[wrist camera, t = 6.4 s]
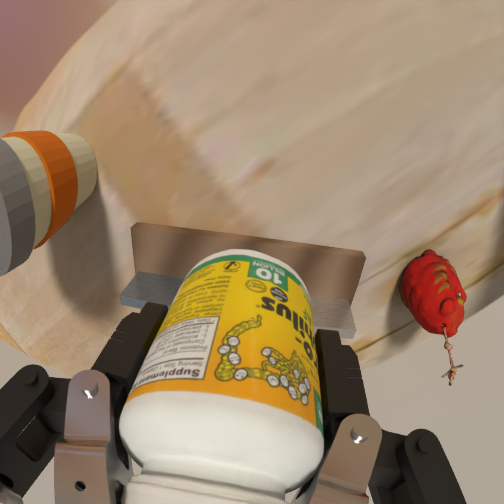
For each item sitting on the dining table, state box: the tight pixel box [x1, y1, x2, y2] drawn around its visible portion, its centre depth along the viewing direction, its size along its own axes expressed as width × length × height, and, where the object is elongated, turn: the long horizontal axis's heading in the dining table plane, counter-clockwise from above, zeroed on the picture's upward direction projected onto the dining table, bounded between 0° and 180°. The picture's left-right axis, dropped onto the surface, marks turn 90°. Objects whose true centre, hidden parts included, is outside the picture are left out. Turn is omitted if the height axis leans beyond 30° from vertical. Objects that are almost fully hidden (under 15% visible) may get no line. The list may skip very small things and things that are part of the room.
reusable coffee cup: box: [0, 131, 97, 277], centre depth 22 cm, size 12×13×15 cm
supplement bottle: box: [119, 249, 324, 504], centre depth 8 cm, size 5×5×10 cm
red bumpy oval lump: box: [399, 250, 467, 385], centre depth 24 cm, size 8×7×15 cm
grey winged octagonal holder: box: [120, 271, 356, 339], centre depth 29 cm, size 24×8×5 cm, turn 85°
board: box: [131, 223, 366, 310], centre depth 32 cm, size 25×12×2 cm, turn 85°
